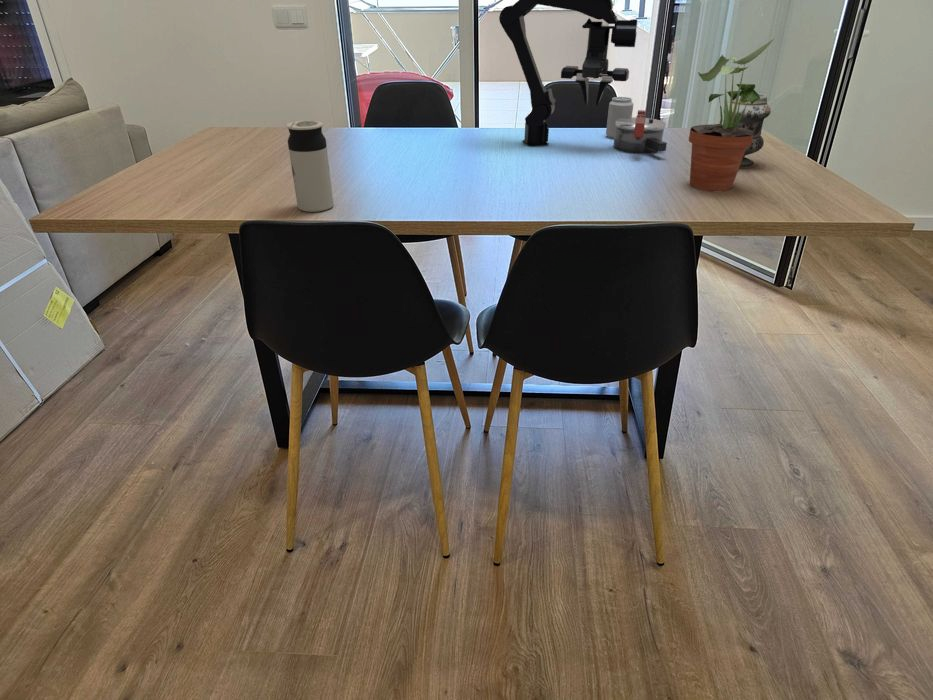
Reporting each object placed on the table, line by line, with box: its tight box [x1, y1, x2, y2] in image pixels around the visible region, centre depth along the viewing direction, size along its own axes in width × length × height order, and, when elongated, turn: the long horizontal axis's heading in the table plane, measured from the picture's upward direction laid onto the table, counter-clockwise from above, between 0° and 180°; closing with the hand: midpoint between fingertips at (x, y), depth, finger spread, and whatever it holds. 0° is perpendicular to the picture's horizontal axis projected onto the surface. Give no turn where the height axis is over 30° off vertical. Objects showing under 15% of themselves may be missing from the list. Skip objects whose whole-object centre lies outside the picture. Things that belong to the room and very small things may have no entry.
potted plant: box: [688, 38, 775, 192], centre depth 141 cm, size 16×15×35 cm
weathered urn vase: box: [722, 92, 772, 169], centre depth 163 cm, size 12×12×18 cm
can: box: [605, 96, 634, 140], centre depth 192 cm, size 8×8×12 cm
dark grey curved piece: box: [613, 127, 668, 155], centre depth 179 cm, size 14×24×6 cm, turn 14°
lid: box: [615, 109, 666, 138], centre depth 176 cm, size 14×25×4 cm, turn 164°
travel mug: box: [286, 119, 334, 213], centre depth 131 cm, size 8×8×18 cm
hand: (591, 105), depth 177 cm, fingers open, 3 cm apart
